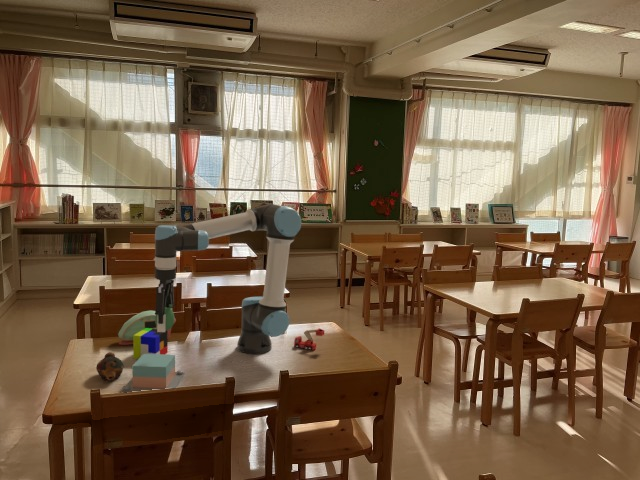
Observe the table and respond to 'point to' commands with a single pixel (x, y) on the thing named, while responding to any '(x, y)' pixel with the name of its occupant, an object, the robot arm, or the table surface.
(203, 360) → the table surface
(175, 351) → the table surface
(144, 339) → the puzzle toy
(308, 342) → the toy fire truck
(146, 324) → the toy snail
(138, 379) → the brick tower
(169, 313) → the alien toy
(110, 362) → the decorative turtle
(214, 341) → the table surface
